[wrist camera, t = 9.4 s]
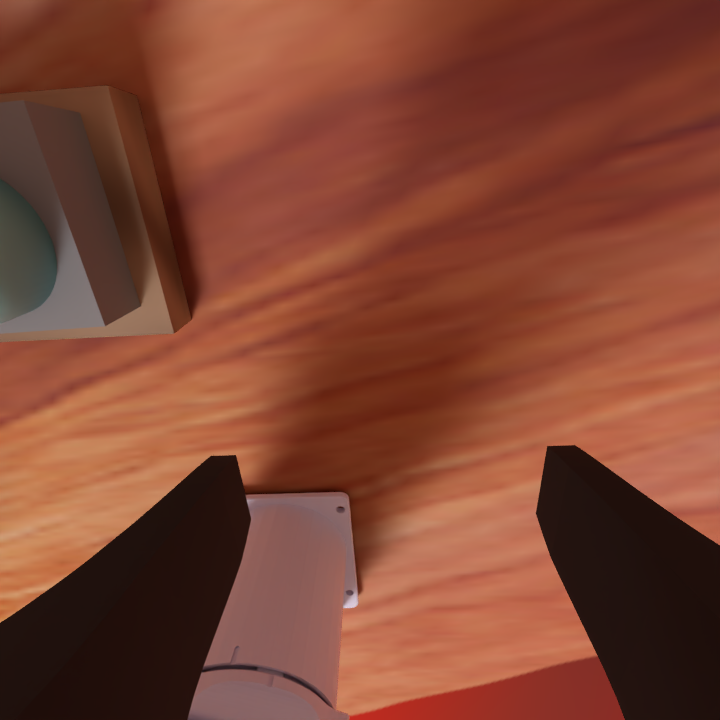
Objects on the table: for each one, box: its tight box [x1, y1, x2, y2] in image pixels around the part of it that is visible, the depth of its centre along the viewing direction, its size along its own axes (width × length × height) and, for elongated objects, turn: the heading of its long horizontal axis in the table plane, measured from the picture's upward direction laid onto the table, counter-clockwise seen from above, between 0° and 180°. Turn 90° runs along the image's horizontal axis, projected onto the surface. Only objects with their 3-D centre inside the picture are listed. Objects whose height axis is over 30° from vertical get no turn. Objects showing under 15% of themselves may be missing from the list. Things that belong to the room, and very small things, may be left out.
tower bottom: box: [0, 85, 192, 342], centre depth 17 cm, size 9×9×2 cm
